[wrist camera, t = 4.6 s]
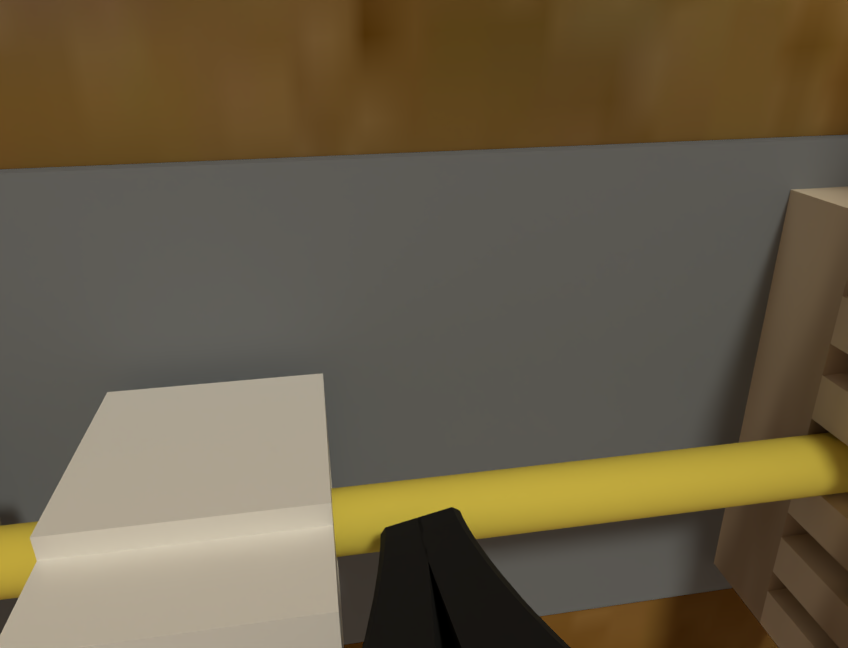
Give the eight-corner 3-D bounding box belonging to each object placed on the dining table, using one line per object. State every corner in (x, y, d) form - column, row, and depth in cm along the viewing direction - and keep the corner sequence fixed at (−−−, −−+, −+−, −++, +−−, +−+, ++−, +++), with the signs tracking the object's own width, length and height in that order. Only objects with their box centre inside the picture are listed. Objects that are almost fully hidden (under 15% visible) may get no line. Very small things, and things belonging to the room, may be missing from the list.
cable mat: (977, 129, 15) (994, 132, 14) (845, 560, 19) (855, 569, 19) (-505, 190, 11) (-534, 196, 10) (-210, 711, 15) (-222, 727, 15)
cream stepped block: (322, 373, 13) (336, 586, 8) (335, 535, 15) (354, 797, 10) (107, 391, 13) (-23, 634, 8) (145, 558, 14) (59, 850, 9)
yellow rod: (875, 415, 14) (923, 447, 13) (860, 463, 15) (905, 498, 14) (-296, 543, 11) (-361, 599, 10) (-265, 599, 12) (-324, 658, 10)
